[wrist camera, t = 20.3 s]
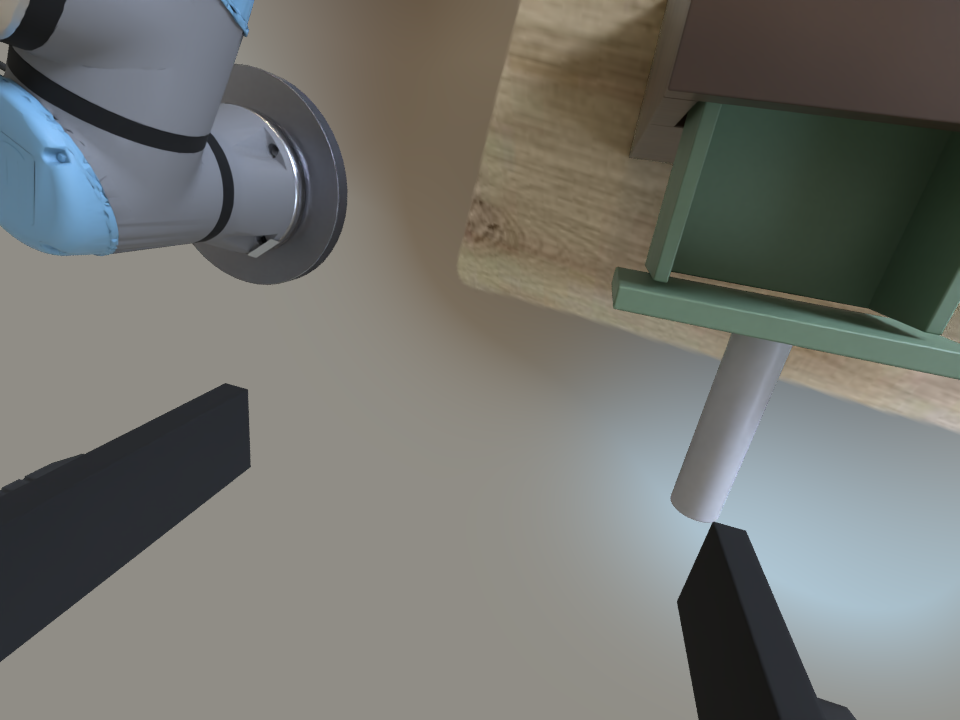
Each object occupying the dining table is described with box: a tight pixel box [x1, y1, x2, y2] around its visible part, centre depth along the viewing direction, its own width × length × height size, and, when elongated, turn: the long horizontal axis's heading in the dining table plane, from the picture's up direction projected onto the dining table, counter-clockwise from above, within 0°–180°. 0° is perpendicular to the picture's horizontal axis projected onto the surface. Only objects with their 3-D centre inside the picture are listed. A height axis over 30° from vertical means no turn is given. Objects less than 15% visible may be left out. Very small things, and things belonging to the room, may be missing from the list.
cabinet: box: [629, 0, 960, 164], centre depth 25 cm, size 12×14×29 cm
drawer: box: [612, 101, 960, 523], centre depth 20 cm, size 22×14×6 cm, turn 171°
